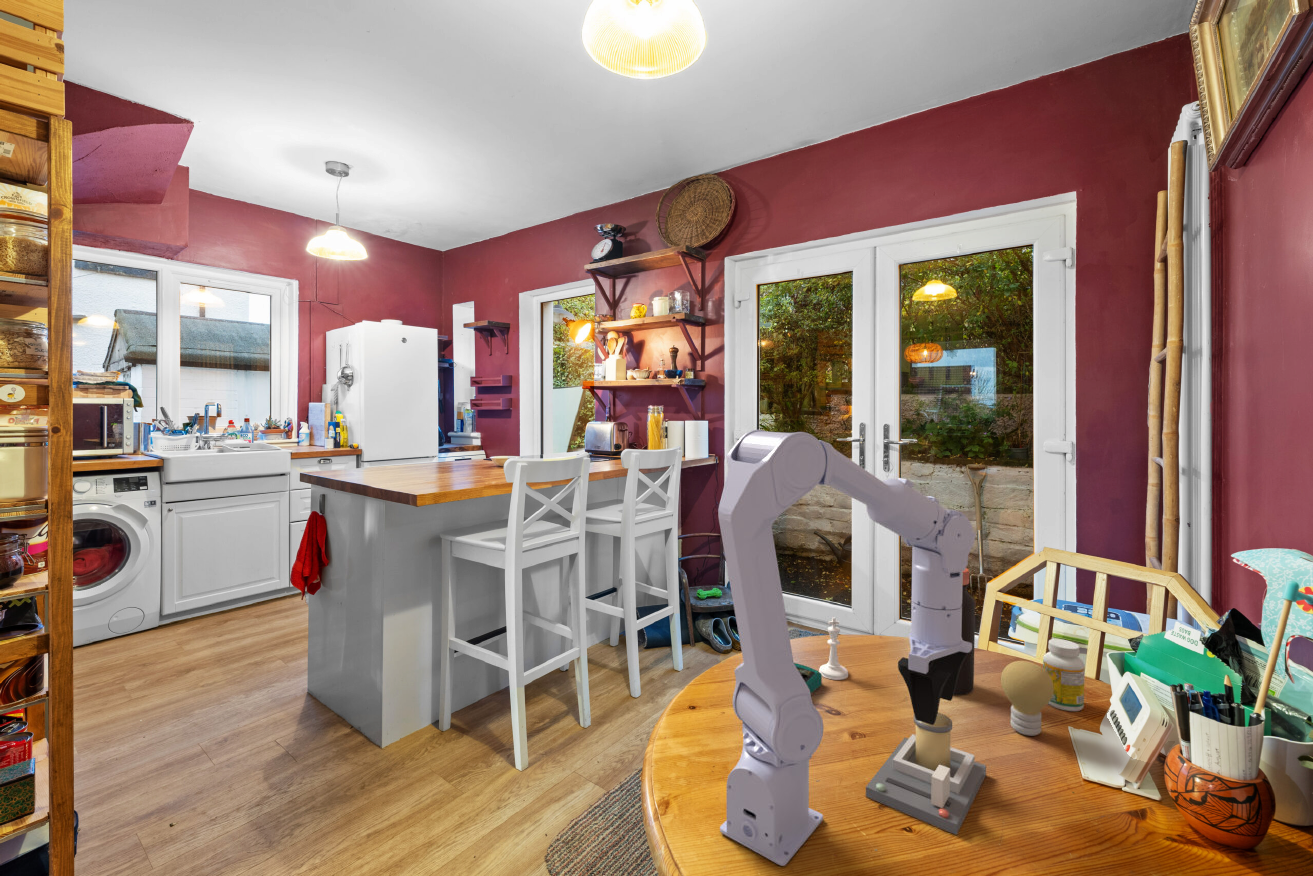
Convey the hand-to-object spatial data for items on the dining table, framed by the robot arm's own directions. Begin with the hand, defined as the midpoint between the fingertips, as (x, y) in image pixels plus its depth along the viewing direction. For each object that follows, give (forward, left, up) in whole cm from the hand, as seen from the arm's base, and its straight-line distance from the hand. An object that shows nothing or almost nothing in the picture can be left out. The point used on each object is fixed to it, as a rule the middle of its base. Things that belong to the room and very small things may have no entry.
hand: (934, 709), depth 74 cm
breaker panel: (-2, 0, -9) cm, 9 cm away
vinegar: (+28, +5, -9) cm, 29 cm away
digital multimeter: (+7, +25, -9) cm, 28 cm away
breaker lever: (-6, -3, -7) cm, 10 cm away
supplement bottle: (+33, -10, -9) cm, 35 cm away
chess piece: (+20, +22, -9) cm, 31 cm away
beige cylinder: (0, 0, -7) cm, 7 cm away
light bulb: (+20, -7, -9) cm, 23 cm away
